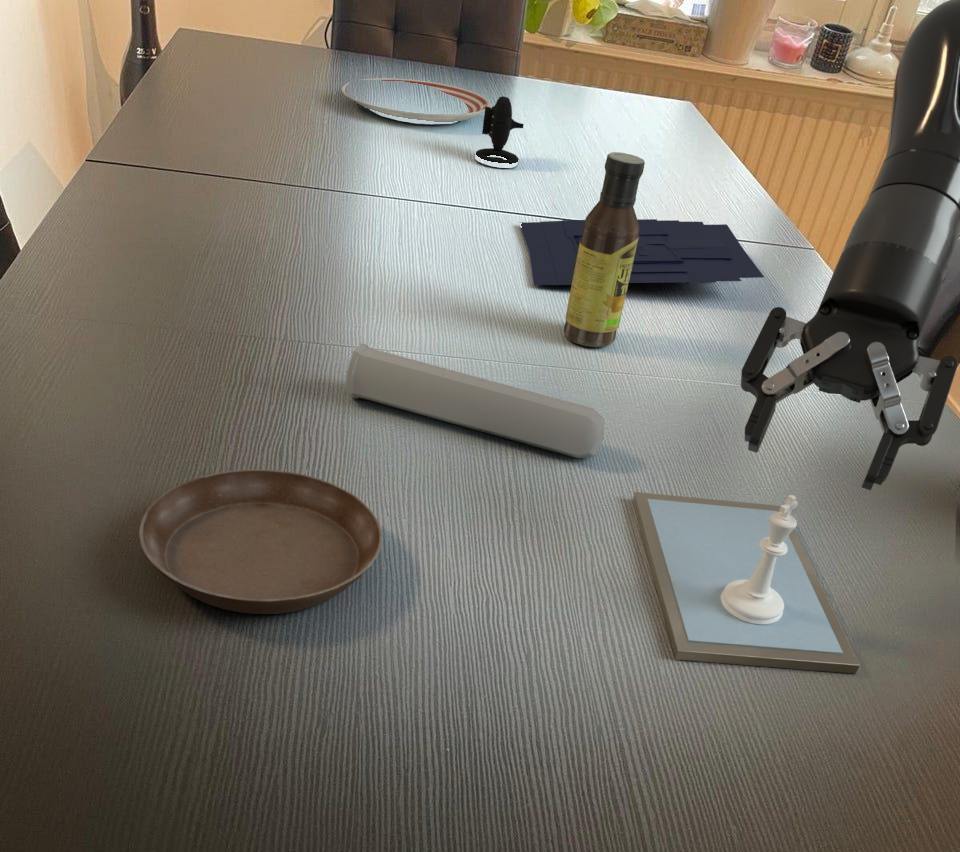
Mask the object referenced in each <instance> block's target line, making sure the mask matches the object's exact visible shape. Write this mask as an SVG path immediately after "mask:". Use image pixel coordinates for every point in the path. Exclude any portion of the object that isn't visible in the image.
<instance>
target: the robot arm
mask: <svg viewBox="0 0 960 852" xmlns="http://www.w3.org/2000/svg"><path fill="white" fill-rule="evenodd" d="M894 79H895V80H894V84H893V85H894V86H893V92H892V93H893V94H892V103H891V113H890V121H889V128H888V137H887V146H886V147H887V148H886V152H885V157H884V159H883V162H882V165H881V166H880V169H879V171H878V172H877V173H878V174H877V176H876V178H875V181H874V183H873V185H872V187H871V190H870V193H869V195H868V198H867V199H866V202H865V204H864V206H863V208H862V209H861V211H860V212H859V214H858V216H857V218H856V220H855V221H854V223H853V225H852V227H851V230H850V232H849V234H848V237H847V239H846V242H845V244H844V247H843V248H842V251H841V254H840V256H839V258H838V261H837V263H836V265H835V268H834V270H833V273H832V275H831V278H830V280H829V283H828V285H827V287H826V290H825V292H824V294H823V296H822V299H821V302H820V304H819V307H818V309H817V311H816V312H815V314H814V315H813V317H812V318H811V319H810V320H808V321H807V322H804V321H800V320H799V319H795V318H793V317H789V316H788V315H787V311H786V309H784V307H781V306H776V307H773V308H772V309H771V310H770V312H768V313H769V314H768V316H767V318H766V319H765V321H764V324H763V326H762V328H761V329H760V331H759V334H758V336H757V338H756V339H755V342H754V344H753V345H752V348H751V350H750V351H749V354H748V356H747V358H746V360H745V362H744V364H743V366H742V368H741V374H740V377H741V378H740V387H741V389H742V390H743V391H744V392H746V393H750V394H751V395H753V396H754V397H755V403H754V404H753V407H752V409H751V412H750V414H749V417H748V419H747V421H746V424H745V426H744V442H747V443H748V444H747V445H748V447H747V450H748V451H749V452H751V453H752V452H753V453H756V454H758V452H759V450H760V448H761V446H762V443H763V441H764V438H765V435H766V433H767V431H768V429H769V427H770V424H771V421H772V419H773V417H774V414H775V412H776V407H777V404H778V403H779V402H781V401H783V400H785V399H786V398H788V397H789V396H791V395H796V394H798V393H800V392H801V391H804V390H805V389H806V388H808V387H810V386H811V385H815V386H816V387H817V388H818V391H819V392H822V393H826V394H827V395H829V394H831V395H840V396H842V397H844V398H846V399H847V400H849V401H850V402H851V401H852V402H855V403H858V404H861V402H862V401H863V402H865V401H870V404H871V408H872V410H873V414H874V417H875V418H876V420H878V423H879V426H880V428H881V430H882V436H881V438H880V441H879V442H878V445H877V447H876V450H875V453H874V454H873V457H872V459H871V462H870V465H869V467H868V469H867V472H866V475H865V477H864V479H863V482H862V485H861V489H865V490H868V491H872V489H873V486H874V484H875V485H878V486H882V484H884V483H885V482H886V481H887V479H888V476H889V475H890V472H891V469H892V468H893V466H894V465H893V464H894V462H895V460H896V458H897V455H898V452H899V450H900V448H901V447H903V446H905V445H908V444H910V445H911V444H912V445H913V444H915V445H916V446H919V447H924V446H927V445H928V444H930V442H931V440H932V438H933V436H934V434H935V433H936V432H937V430H938V428H939V425H940V421H941V418H942V415H943V413H944V409H945V406H946V403H947V400H948V397H949V394H950V390H951V388H952V385H953V382H954V379H955V376H956V372H957V370H958V367H959V361H958V360H957V358H956V357H954V356H952V355H946V356H944V357H942V358H941V359H936V358H931V357H928V356H923V355H919V354H920V353H919V346H918V345H919V342H920V339H921V336H922V334H923V331H924V330H925V327H926V325H927V321H928V319H929V317H930V315H931V312H932V309H933V307H934V305H935V302H936V299H937V298H938V295H939V292H940V290H941V287H942V285H943V284H944V282H945V280H946V278H947V275H948V274H947V273H948V270H949V268H950V265H951V263H952V260H953V258H954V254H955V252H956V248H957V245H958V240H959V237H960V0H947V1H944V2H942V3H940V4H938V5H937V6H936V7H934V8H933V9H932V10H930V11H929V12H928V13H927V14H925V16H924V17H923V18H922V19H921V20H920V21H919V23H917V25H916V26H915V28H914V29H913V31H912V33H911V34H910V36H909V38H908V39H907V41H906V44H905V45H904V48H903V51H902V53H901V56H900V59H899V61H898V65H897V68H896V73H895V78H894ZM794 340H799V345H800V348H801V350H802V355H800V356H798V357H797V358H795V359H793V360H792V361H791V362H789V363H788V364H787V365H786V367H784V368H783V369H781V370H780V371H778V372H777V373H775V374H773V375H772V376H770V377H768V376H766V375H765V374H764V372H765V371H766V369H767V367H768V364H769V363H770V360H771V358H772V356H773V355H774V353H775V351H776V348H779V349H780V348H786V347H787V346H788V345H789V343H790V342H791V341H794ZM913 373H915V374H916V375H917V376H918V378H919V387H920V388H921V390H923V391H924V392H927V393H926V397H925V399H924V403H923V406H922V408H921V412H920V415H919V418H918V420H908V418H907V415H906V413H905V410H904V408H903V404H902V397H901V392H900V389H899V386H898V383H900V382H901V381H903V380H905V379H907V378H908V377H909V376H911V375H912V374H913Z"/></svg>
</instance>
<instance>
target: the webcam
mask: <svg viewBox="0 0 960 852" xmlns="http://www.w3.org/2000/svg"><path fill="white" fill-rule="evenodd" d="M514 129H524V123H521V122H517V121H515V120H514V119H513V107H512V103H511V99H510V98H509V97H508V96H499V97H498V99H496V103H495V104H494V105H493V106H490V107H485V112H484V113H483V123H482V129H481V130H482V131H481V133H482V134H481V135H487V136H489V137H490V140H491V144H492V148H491V147H490V148H489V147H488V148H481V149H477V150H476V151H475V152H476V155H477V156H478V157H480V158H481V159H484V160H487V161H491V162H498V163H509V164H512V163H516V162H518V160H519V157H518V156H517V155H516V154H515V153H513V152H511V151H508V150H505V149H504V147H505V146H506V144H507V143H508V140H509V137H510V133H511V131H512V130H514ZM490 155H496V156H501V157H504V158H506V159H507V160H503V159H498V158H491V157H487V156H490ZM519 161H520V160H519Z"/></svg>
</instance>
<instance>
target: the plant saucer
mask: <svg viewBox="0 0 960 852" xmlns="http://www.w3.org/2000/svg"><path fill="white" fill-rule="evenodd" d="M138 531H139V532H138V533H139V541H140V546H141V548H142V550H143V552H144V554H145V556H146V557H147V559H148V560H149V562H150V563H151V564H152V566H153V567H154V568H155V569H157V571H158V572H159V573H160V574H161V575H162V576H163V577H164V578H166V579H167V580H168V581H169V582H170V583H172V584H173V585H174V586H175V587H177V588H178V589H180V590H181V591H183V592H184V593H186V594H188V595H189V596H190V597H192V598H193V599H196V600H198V601H200V602H202V603H204V604H207V605H209V606H213V607H216V608H219V609H222V610H227V611H231V612H237V613H242V614H252V615H253V614H254V615H273V614H275V615H276V614H277V615H278V614H286V613H293V612H297V611H303V610H307V609H309V608H313V607H316V606H318V605H320V604H323V603H326V602H328V601H329V600H331V599H333V598H335V597H337V596H338V595H339V594H341V593H342V592H344V591H346V590H347V589H348V588H349V587H350V586H351V585H353V584H354V583H355V582H356V581H357V580H359V579H360V578H361V577H362V576H363V575H364V574H365V573H366V572H367V571H368V569H369V568H370V567H371V566H372V565H373V563H374V562H375V560H376V559H377V557H378V556H379V553H380V551H381V549H382V544H383V534H382V528H381V525H380V522H379V520H378V518H377V516H376V515H375V514H374V512H373V510H371V508H370V507H369V506H368V505H367V504H366V503H365V502H363V500H361V499H360V498H359V497H357V496H356V495H355V494H353V493H352V492H350V491H348V490H347V489H345V488H343V487H340V486H338V485H337V484H335V483H332V482H329V481H327V480H324V479H322V478H318V477H316V476H312V475H308V474H303V473H299V472H293V471H286V470H277V469H263V468H262V469H260V468H259V469H257V468H255V469H254V468H253V469H236V470H234V469H233V470H226V471H225V470H224V471H221V472H215V473H210V474H207V475H203V476H199V477H196V478H192V479H191V480H187V481H185V482H183V483H180V484H178V485H176V486H174V487H172V488H170V489H168V490H167V491H166V492H164V493H162V494H161V495H160V496H159V497H157V499H155V500H154V501H153V502H152V503H151V505H149V507H148V508H147V509H146V511H145V513H144V514H143V515H142V518H141V521H140V525H139V530H138Z"/></svg>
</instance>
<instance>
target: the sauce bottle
mask: <svg viewBox="0 0 960 852" xmlns="http://www.w3.org/2000/svg"><path fill="white" fill-rule="evenodd" d="M645 164H646V162H645V160H644V159H643V158H641V157H639V156H637V155H634V154H630V153H626V152H617V151H613V152H610V153H608V154H607V156H606V160H605V163H604V172H605V173H604V178H603V184H602V188H601V191H600V194H599V201H598V202H597V203H596V204H595V205H594V207H592V209H590V212H589V213H588V214H587V215H586V217H585V219H584V220H585V223H584V228H583V234H582V239H581V240H580V244H579V250H578V255H577V260H576V265H575V270H574V275H573V281H572V285H570V286H571V287H570V291H569V297H568V302H567V307H566V312H565V314H566V315H565V323H564V326H563V334H564V337H565V338H566V339H567V340H569V341H570V342H571V343H574V344H577V345H581V346H585V347H590V348H605V347H607V346H609V345H611V344H612V343H614V342H615V341H616V338H617V331H618V330H619V328H620V325H621V319H622V315H623V311H624V305H625V301H626V296H627V292H628V287H629V284H630V283H629V279H630V275H631V271H632V265H633V261H634V256H635V252H636V248H637V243H638V238H639V235H638V234H639V223H638V221H637V219H638V217H637V214H636V210H635V208H634V206H635V204H636V200H637V193H638V189H639V185H640V180H641V178H642V176H643V174H644V170H645Z"/></svg>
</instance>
